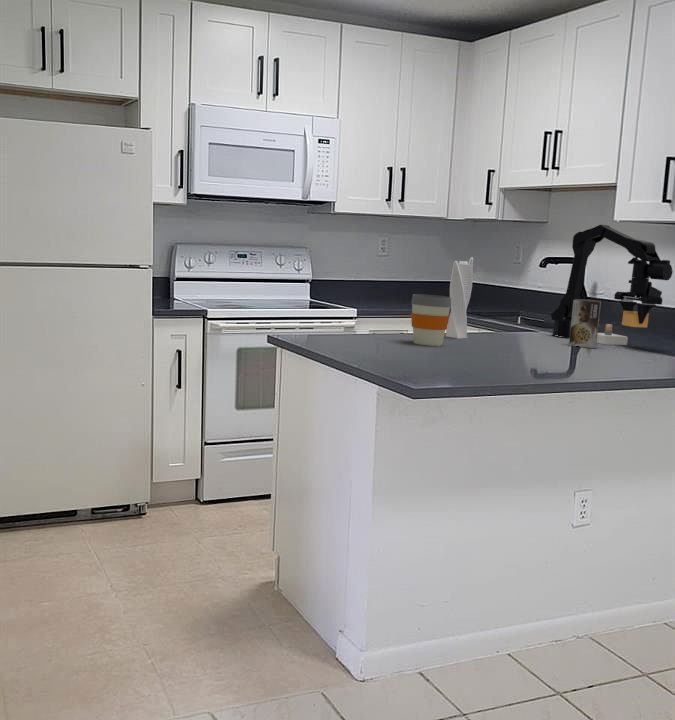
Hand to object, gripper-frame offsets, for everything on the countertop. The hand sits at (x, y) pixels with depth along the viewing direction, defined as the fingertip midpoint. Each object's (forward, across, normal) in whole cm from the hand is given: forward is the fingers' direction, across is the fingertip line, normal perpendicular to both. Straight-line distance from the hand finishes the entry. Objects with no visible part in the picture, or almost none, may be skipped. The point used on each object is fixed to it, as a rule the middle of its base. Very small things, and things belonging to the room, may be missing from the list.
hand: (634, 322), depth 299 cm
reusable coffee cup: (+9, -4, +81) cm, 82 cm away
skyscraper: (+10, +15, +61) cm, 64 cm away
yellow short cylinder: (+1, 0, 0) cm, 1 cm away
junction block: (+9, +15, -1) cm, 18 cm away
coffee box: (+9, +2, +19) cm, 21 cm away
